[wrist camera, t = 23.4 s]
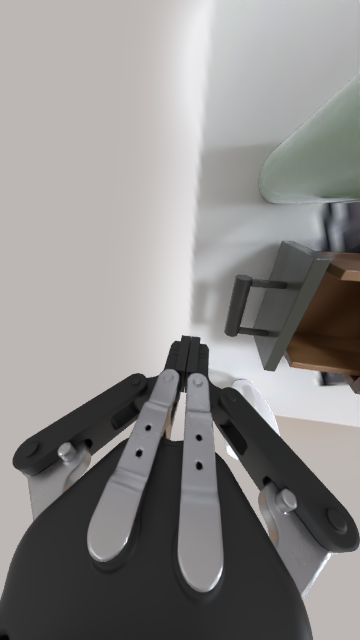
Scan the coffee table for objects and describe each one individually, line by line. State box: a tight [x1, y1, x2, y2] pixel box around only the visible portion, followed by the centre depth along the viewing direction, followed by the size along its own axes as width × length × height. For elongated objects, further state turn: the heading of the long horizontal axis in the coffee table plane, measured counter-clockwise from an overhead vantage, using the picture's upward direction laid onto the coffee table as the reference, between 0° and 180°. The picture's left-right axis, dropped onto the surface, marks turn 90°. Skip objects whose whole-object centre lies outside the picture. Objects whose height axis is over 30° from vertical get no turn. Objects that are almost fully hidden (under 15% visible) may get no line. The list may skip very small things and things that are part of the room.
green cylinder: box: [259, 71, 360, 204], centre depth 10 cm, size 5×5×16 cm
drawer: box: [224, 241, 360, 376], centre depth 18 cm, size 18×13×7 cm
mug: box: [224, 379, 280, 460], centre depth 29 cm, size 12×8×11 cm
